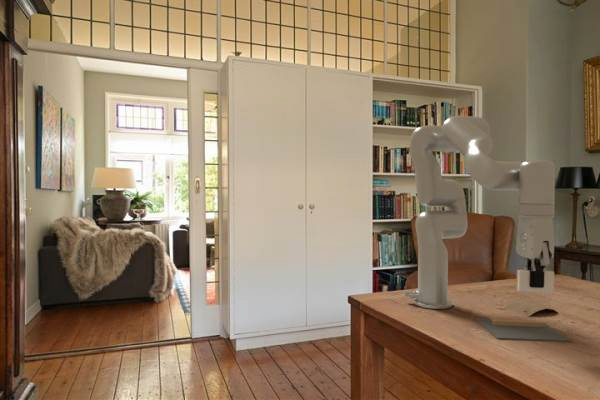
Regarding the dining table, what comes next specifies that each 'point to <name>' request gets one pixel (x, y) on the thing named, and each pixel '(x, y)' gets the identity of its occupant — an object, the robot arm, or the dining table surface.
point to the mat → (521, 330)
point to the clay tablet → (525, 307)
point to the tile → (524, 282)
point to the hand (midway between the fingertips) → (534, 286)
